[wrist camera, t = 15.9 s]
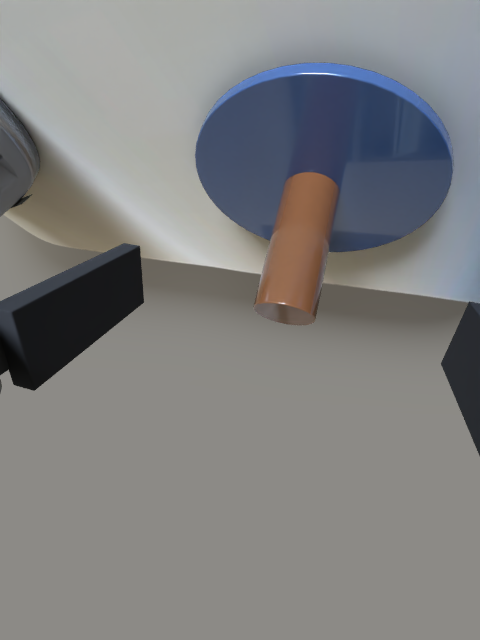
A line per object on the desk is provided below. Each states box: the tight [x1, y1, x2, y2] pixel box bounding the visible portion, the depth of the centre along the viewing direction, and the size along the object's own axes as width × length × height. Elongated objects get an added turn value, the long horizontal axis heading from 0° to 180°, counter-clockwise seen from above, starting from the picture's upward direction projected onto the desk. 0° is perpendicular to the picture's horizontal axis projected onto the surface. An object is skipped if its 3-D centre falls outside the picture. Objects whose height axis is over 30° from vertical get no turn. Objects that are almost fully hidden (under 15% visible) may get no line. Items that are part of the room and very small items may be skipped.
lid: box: [195, 63, 453, 325], centre depth 18 cm, size 14×14×9 cm
